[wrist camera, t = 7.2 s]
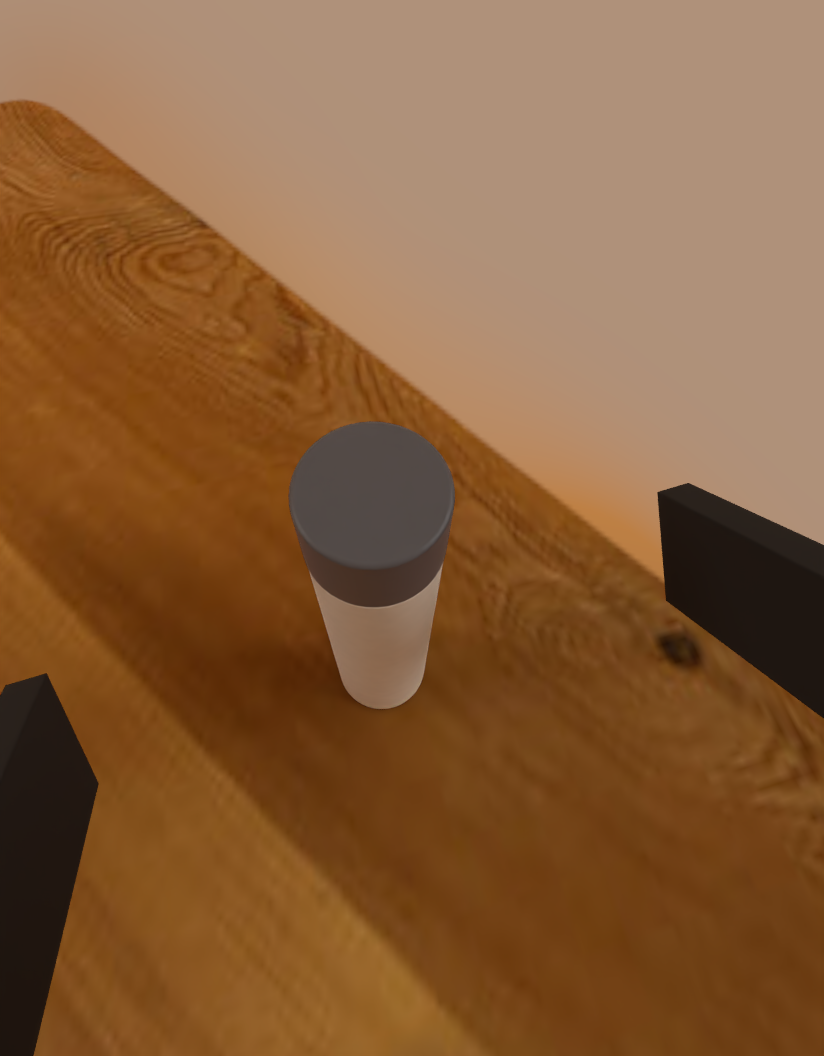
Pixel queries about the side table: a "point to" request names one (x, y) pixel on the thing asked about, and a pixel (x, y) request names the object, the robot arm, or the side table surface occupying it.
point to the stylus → (375, 551)
